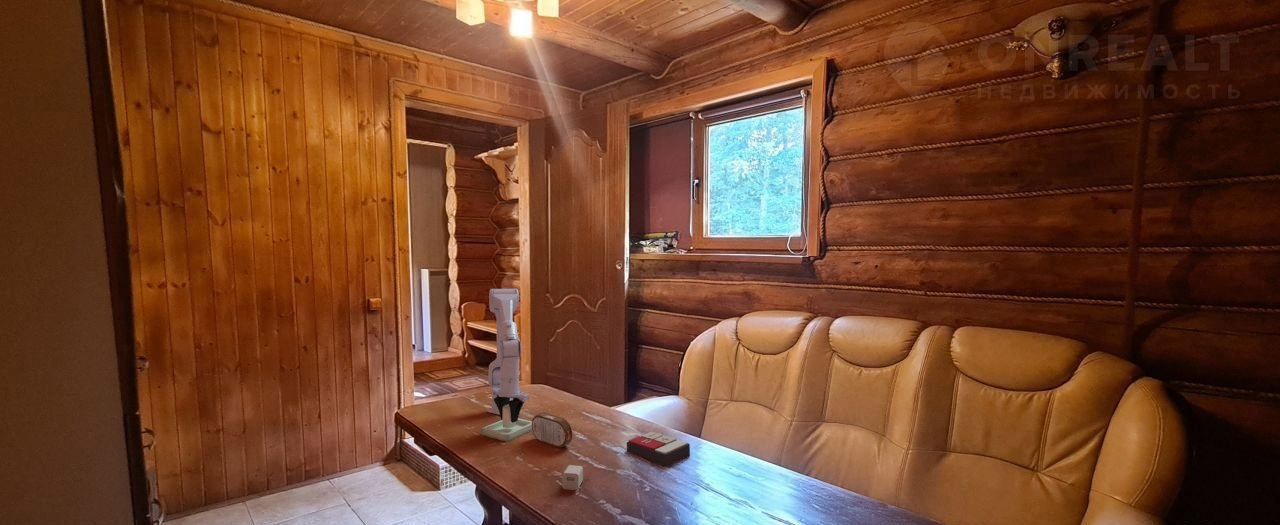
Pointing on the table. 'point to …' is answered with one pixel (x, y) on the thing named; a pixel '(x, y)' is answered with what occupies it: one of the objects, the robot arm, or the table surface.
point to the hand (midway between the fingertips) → (509, 420)
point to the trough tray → (507, 430)
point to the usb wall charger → (572, 477)
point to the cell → (507, 417)
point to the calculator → (659, 448)
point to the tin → (552, 429)
